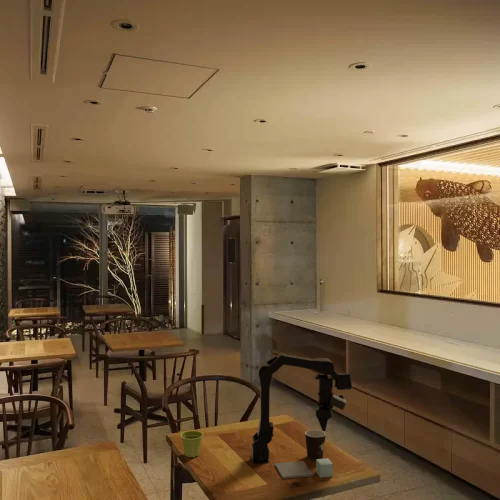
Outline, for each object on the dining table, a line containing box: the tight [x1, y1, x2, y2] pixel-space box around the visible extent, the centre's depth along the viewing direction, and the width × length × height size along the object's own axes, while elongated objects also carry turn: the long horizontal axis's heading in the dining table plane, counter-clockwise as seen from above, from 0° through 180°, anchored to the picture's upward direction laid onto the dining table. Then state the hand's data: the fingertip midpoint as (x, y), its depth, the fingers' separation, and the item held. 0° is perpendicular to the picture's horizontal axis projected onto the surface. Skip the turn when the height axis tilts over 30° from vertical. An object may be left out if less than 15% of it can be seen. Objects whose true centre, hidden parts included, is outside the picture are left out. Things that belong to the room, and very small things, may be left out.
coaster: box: [274, 460, 314, 480], centre depth 203 cm, size 12×12×1 cm
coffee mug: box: [304, 429, 327, 461], centre depth 217 cm, size 12×9×10 cm
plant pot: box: [180, 430, 204, 458], centre depth 217 cm, size 9×9×9 cm
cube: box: [315, 457, 334, 478], centre depth 201 cm, size 5×5×5 cm
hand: (324, 427), depth 213 cm, fingers open, 9 cm apart
